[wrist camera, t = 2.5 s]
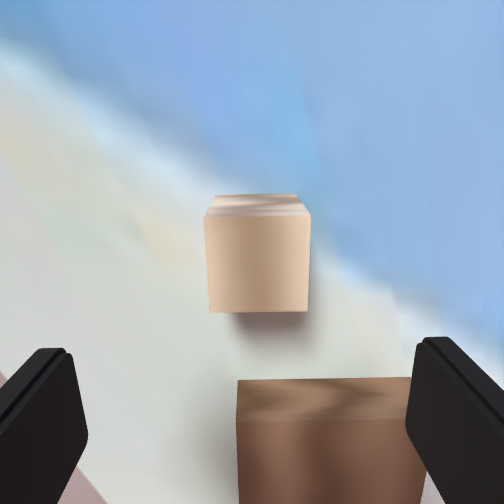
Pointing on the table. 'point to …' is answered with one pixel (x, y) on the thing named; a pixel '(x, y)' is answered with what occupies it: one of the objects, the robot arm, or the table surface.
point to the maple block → (257, 253)
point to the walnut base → (326, 442)
